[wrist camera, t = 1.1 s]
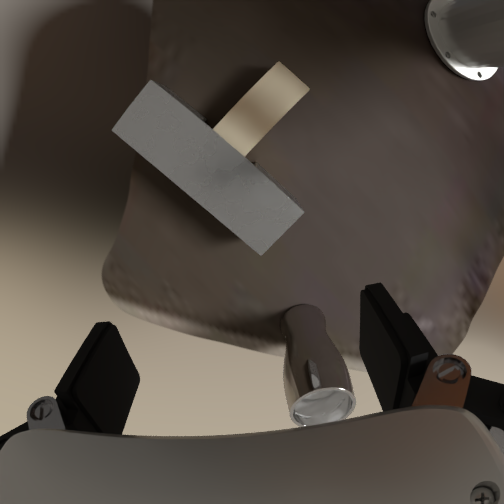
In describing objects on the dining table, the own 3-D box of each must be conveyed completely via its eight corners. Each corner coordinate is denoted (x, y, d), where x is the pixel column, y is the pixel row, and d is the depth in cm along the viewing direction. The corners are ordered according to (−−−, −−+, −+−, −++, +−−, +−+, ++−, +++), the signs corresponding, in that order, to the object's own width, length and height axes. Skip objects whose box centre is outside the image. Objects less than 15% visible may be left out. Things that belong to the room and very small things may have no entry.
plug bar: (275, 68, 29) (278, 61, 26) (303, 93, 30) (310, 89, 27) (192, 156, 33) (186, 160, 29) (220, 179, 34) (217, 186, 30)
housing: (165, 85, 30) (150, 79, 25) (296, 198, 35) (304, 212, 30) (131, 128, 31) (111, 130, 26) (259, 236, 37) (261, 255, 31)
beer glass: (309, 291, 39) (336, 375, 26) (337, 324, 42) (369, 407, 28) (265, 321, 41) (272, 410, 27) (296, 351, 43) (312, 437, 29)
